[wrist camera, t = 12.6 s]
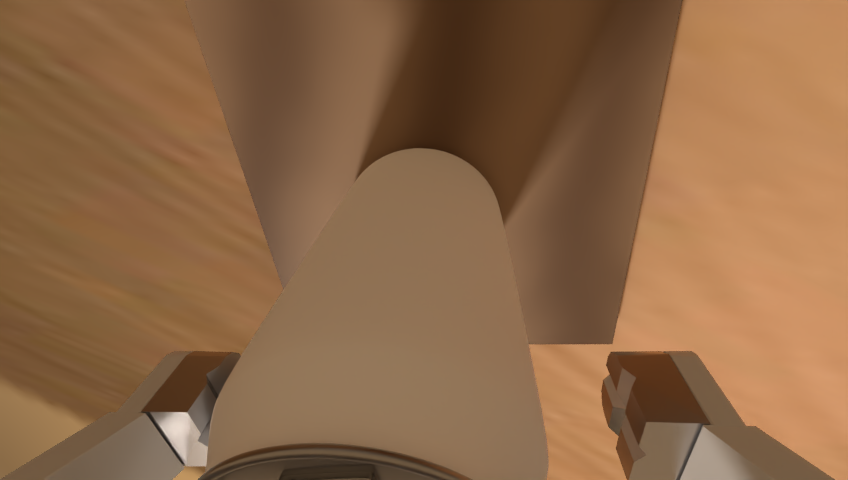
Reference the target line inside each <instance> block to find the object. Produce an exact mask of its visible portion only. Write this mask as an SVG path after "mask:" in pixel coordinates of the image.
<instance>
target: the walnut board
mask: <svg viewBox="0 0 848 480" xmlns="http://www.w3.org/2000/svg"><path fill="white" fill-rule="evenodd" d="M185 4H186V7H187V9H188V12H189V15H190V18H191V21H192V24H193V27H194V30H195V33H196V36H197V39H198V42H199V44H200V47H201V50H202V53H203V56H204V59H205V62H206V65H207V68H208V71H209V74H210V77H211V79H212V82H213V85H214V88H215V91H216V94H217V97H218V100H219V103H220V106H221V109H222V112H223V114H224V117H225V120H226V123H227V126H228V129H229V132H230V135H231V138H232V141H233V144H234V147H235V149H236V152H237V155H238V158H239V161H240V164H241V167H242V170H243V173H244V176H245V179H246V181H247V184H248V187H249V190H250V193H251V196H252V199H253V202H254V205H255V208H256V211H257V214H258V216H259V219H260V222H261V225H262V228H263V231H264V234H265V237H266V240H267V243H268V246H269V249H270V251H271V254H272V257H273V260H274V263H275V266H276V269H277V272H278V275H279V278H280V281H281V284H282V286H283V289H284V288H285V287H286V285H287V284H288V282H289V281H290V279H291V278H292V276H293V274H294V273H295V271H296V270H297V268H298V267H299V265H300V264H301V262H302V261H303V259H304V258H305V256H306V255H307V253H308V252H309V250H310V248H311V247H312V245H313V244H314V242H315V241H316V239H317V238H318V236H319V235H320V233H321V232H322V230H323V229H324V227H325V226H326V224H327V223H328V221H329V220H330V218H331V216H332V215H333V213H334V212H335V210H336V209H337V207H338V206H339V204H340V203H341V201H342V200H343V198H344V197H345V195H346V194H347V192H348V191H349V190H350V188H351V187H352V185H353V184H354V182H355V181H356V180H357V178H358V177H359V176H360V175H361V173H362V172H363V171H364V170H365V169H366V168H367V167H369V166H370V165H371V164H372V163H374V162H375V161H377V160H378V159H380V158H382V157H384V156H386V155H388V154H391V153H393V152H397V151H400V150H405V149H413V148H427V149H435V150H440V151H444V152H447V153H450V154H452V155H455V156H457V157H459V158H461V159H463V160H464V161H466V162H467V163H469V164H470V165H472V166H473V167H474V168H475V169H477V170H478V171H479V172H480V173H481V174H482V176H483V177H484V178H485V179H486V180H487V182H488V183H489V185H490V186H491V188H492V190H493V192H494V194H495V196H496V199H497V201H498V205H499V208H500V212H501V216H502V221H503V225H504V230H505V234H506V239H507V243H508V248H509V253H510V258H511V262H512V267H513V272H514V277H515V281H516V286H517V291H518V296H519V301H520V305H521V310H522V315H523V320H524V325H525V330H526V335H527V340H528V344H612V343H613V338H614V333H615V328H616V323H617V318H618V313H619V308H620V303H621V299H622V294H623V289H624V284H625V279H626V274H627V269H628V264H629V259H630V254H631V249H632V245H633V240H634V235H635V230H636V225H637V220H638V215H639V210H640V205H641V200H642V195H643V190H644V186H645V181H646V176H647V171H648V166H649V161H650V156H651V151H652V146H653V141H654V136H655V132H656V127H657V122H658V117H659V112H660V107H661V102H662V97H663V92H664V87H665V82H666V78H667V73H668V68H669V63H670V58H671V53H672V48H673V43H674V38H675V33H676V28H677V24H678V19H679V14H680V9H681V4H682V0H185Z"/></svg>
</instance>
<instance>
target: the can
mask: <svg viewBox="0 0 848 480" xmlns="http://www.w3.org/2000/svg"><path fill="white" fill-rule="evenodd" d="M547 473H548V450H547V439H546V433H545V427H544V422H543V416H542V410H541V405H540V400H539V394H538V389H537V384H536V379H535V374H534V369H533V364H532V359H531V354H530V349H529V344H528V340H527V335H526V330H525V325H524V320H523V315H522V310H521V305H520V301H519V296H518V291H517V286H516V281H515V277H514V272H513V267H512V262H511V258H510V253H509V248H508V243H507V239H506V234H505V230H504V225H503V221H502V216H501V212H500V208H499V205H498V201H497V199H496V196H495V194H494V192H493V190H492V188H491V186H490V185H489V183H488V182H487V180H486V179H485V178H484V177H483V176H482V174H481V173H480V172H479V171H478V170H477V169H475V168H474V167H473V166H472V165H470V164H469V163H467V162H466V161H464V160H463V159H461V158H459V157H457V156H455V155H452V154H450V153H447V152H444V151H440V150H435V149H427V148H413V149H405V150H400V151H397V152H393V153H391V154H388V155H386V156H384V157H382V158H380V159H378V160H377V161H375V162H374V163H372V164H371V165H370V166H369V167H367V168H366V169H365V170H364V171H363V172H362V173H361V175H360V176H359V177H358V178H357V180H356V181H355V182H354V184H353V185H352V187H351V188H350V190H349V191H348V192H347V194H346V195H345V197H344V198H343V200H342V201H341V203H340V204H339V206H338V207H337V209H336V210H335V212H334V213H333V215H332V216H331V218H330V220H329V221H328V223H327V224H326V226H325V227H324V229H323V230H322V232H321V233H320V235H319V236H318V238H317V239H316V241H315V242H314V244H313V245H312V247H311V248H310V250H309V252H308V253H307V255H306V256H305V258H304V259H303V261H302V262H301V264H300V265H299V267H298V268H297V270H296V271H295V273H294V274H293V276H292V278H291V279H290V281H289V282H288V284H287V285H286V287H285V288H284V290H283V291H282V293H281V295H280V296H279V298H278V299H277V301H276V302H275V304H274V305H273V307H272V308H271V310H270V312H269V313H268V315H267V316H266V318H265V319H264V321H263V322H262V324H261V325H260V327H259V329H258V330H257V332H256V333H255V335H254V336H253V338H252V340H251V341H250V343H249V344H248V346H247V347H246V349H245V351H244V352H243V354H242V355H241V357H240V359H239V360H238V362H237V364H236V365H235V367H234V369H233V370H232V372H231V374H230V375H229V377H228V378H227V380H226V382H225V384H224V386H223V388H222V390H221V392H220V394H219V396H218V398H217V400H216V403H215V406H214V409H213V413H212V418H211V423H210V431H209V440H208V452H207V464H206V471H205V473H204V474H203V475H202V476H201V477H200V478H199V479H198V480H546V479H547Z"/></svg>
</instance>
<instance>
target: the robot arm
mask: <svg viewBox="0 0 848 480" xmlns="http://www.w3.org/2000/svg"><path fill="white" fill-rule="evenodd" d="M240 357H241V356H240V354H239V353H234V352H206V351H174V352H172V353H170V354H168V355H166V356H165V357H164V358H163V360H162V361H161V362H160V363H159V364H158V365H157V366H156V368H155V369H154V370H153V371H152V372H151V373H150V374H149V376H148V377H147V378H146V379H145V380H144V381H143V382H142V384H141V385H140V386H139V387H138V388H137V389H136V390H135V392H134V393H133V394H132V395H131V396H130V397H129V398H128V400H127V401H126V402H125V403H124V404H123V405H122V406H121V408H120V409H119V410H118V411H117V412H109V413H108V414H106V415H105V416H103V417H101V418H100V419H98V420H96V421H95V422H93V423H91V424H90V425H88V426H87V427H85V428H83V429H82V430H80V431H78V432H77V433H75V434H73V435H72V436H70V437H69V438H67V439H65V440H64V441H62V442H60V443H59V444H57V445H55V446H54V447H52V448H51V449H49V450H47V451H46V452H44V453H42V454H41V455H39V456H38V457H36V458H34V459H33V460H31V461H29V462H28V463H26V464H24V465H23V466H21V467H19V468H18V469H16V470H15V471H13V472H11V473H10V474H8V475H6V476H5V477H3V478H1V479H0V480H172V479H173V478H174V477H176V476H177V475H178V474H179V473H180V472H181V471H182V470H183V469H184V467H183V466H206V464H207V452H208V440H209V431H210V423H211V418H212V413H213V409H214V406H215V403H216V400H217V398H218V396H219V394H220V392H221V390H222V388H223V386H224V384H225V382H226V380H227V378H228V377H229V375H230V374H231V372H232V370H233V369H234V367H235V365H236V364H237V362H238V360H239V359H240ZM606 366H607V368H608V371H609V373H610V375H609V376H607V377H606V378H605V379H604V380H603V384H602V391H601V392H602V406H603V410H604V415H605V418H606V421H607V424H608V427H609V428H610V429H611V430H612V431H614V432H615V433H616V434H617V435H618V436H619V437H618V442H617V446H616V450H617V453H618V456H619V458H620V461H621V464H622V467H623V470H624V472H625V475H626V478H627V480H835V479H833V478H832V477H830V476H829V475H827V474H826V473H824V472H823V471H821V470H820V469H818V468H817V467H815V466H814V465H812V464H811V463H809V462H808V461H806V460H805V459H803V458H802V457H801V456H799V455H798V454H796V453H795V452H793V451H792V450H790V449H789V448H787V447H786V446H784V445H783V444H781V443H780V442H778V441H777V440H775V439H774V438H772V437H771V436H769V435H768V434H766V433H765V432H763V431H762V430H760V429H759V428H757V427H756V426H746V425H745V423H744V422H743V420H742V419H741V418H740V416H739V415H738V413H737V412H736V410H735V409H734V407H733V406H732V405H731V403H730V402H729V400H728V399H727V397H726V396H725V394H724V393H723V391H722V390H721V389H720V387H719V386H718V384H717V383H716V381H715V380H714V378H713V377H712V376H711V374H710V373H709V371H708V370H707V368H706V367H705V365H704V364H703V362H702V361H701V360H700V358H699V357H698V355H696V354H695V353H694V352H692V351H664V352H661V351H642V352H611V353H610V354H609V356H608V359H607V364H606Z"/></svg>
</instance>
